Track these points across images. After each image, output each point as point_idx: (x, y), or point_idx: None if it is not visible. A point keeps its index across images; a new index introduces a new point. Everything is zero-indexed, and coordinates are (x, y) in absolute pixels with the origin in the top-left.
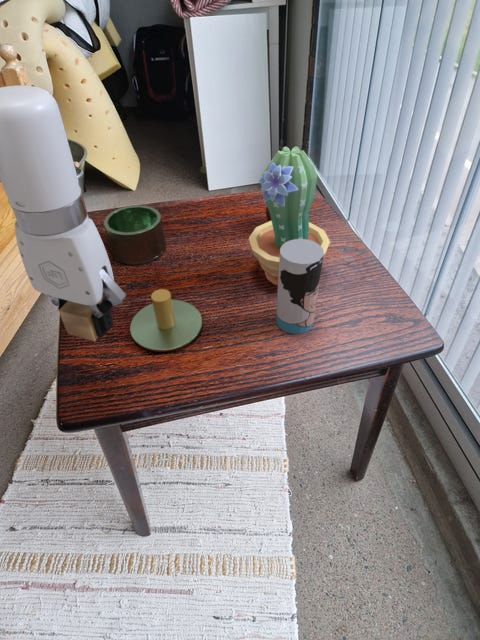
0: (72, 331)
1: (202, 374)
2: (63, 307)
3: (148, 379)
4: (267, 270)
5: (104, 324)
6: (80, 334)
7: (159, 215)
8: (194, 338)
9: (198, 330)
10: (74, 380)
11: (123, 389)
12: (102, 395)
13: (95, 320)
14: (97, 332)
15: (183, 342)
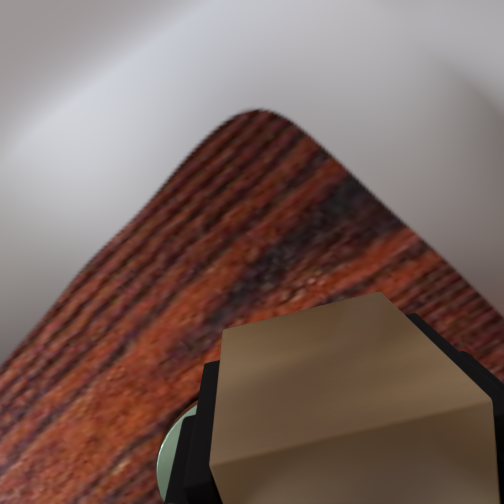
0: (349, 313)
1: (67, 400)
2: (477, 441)
3: (168, 316)
4: None
5: (180, 450)
6: (299, 322)
7: None
8: (157, 473)
9: (164, 498)
10: (336, 204)
11: (198, 258)
12: (230, 212)
13: (188, 464)
14: (211, 381)
15: (166, 451)
